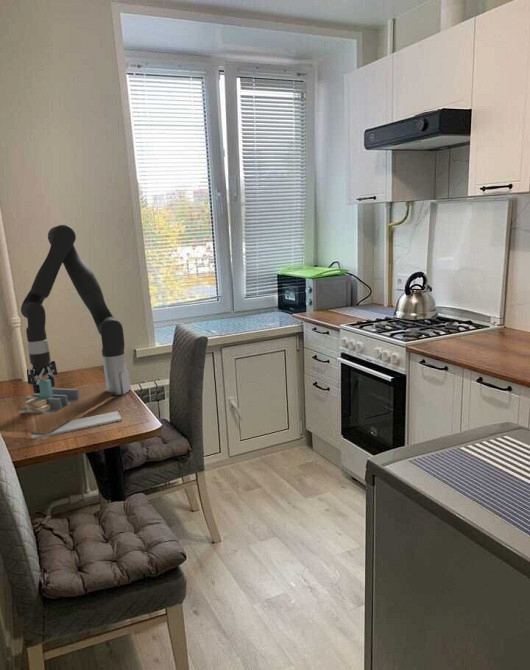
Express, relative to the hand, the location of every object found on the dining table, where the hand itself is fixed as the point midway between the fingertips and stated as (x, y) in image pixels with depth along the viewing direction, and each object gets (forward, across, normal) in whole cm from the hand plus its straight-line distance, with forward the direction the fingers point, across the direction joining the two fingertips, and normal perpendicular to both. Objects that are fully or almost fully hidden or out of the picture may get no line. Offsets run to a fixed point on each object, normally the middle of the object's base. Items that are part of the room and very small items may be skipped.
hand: (44, 389), depth 205 cm
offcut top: (+5, -5, +1) cm, 7 cm away
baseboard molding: (+9, -13, -23) cm, 28 cm away
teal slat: (+7, 0, 0) cm, 7 cm away
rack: (+8, +1, 0) cm, 8 cm away
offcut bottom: (+7, -5, 0) cm, 9 cm away
